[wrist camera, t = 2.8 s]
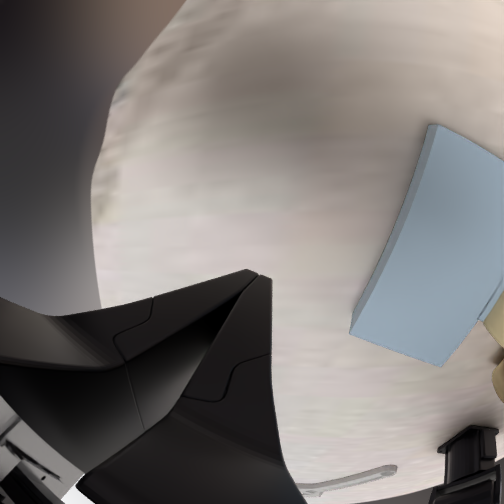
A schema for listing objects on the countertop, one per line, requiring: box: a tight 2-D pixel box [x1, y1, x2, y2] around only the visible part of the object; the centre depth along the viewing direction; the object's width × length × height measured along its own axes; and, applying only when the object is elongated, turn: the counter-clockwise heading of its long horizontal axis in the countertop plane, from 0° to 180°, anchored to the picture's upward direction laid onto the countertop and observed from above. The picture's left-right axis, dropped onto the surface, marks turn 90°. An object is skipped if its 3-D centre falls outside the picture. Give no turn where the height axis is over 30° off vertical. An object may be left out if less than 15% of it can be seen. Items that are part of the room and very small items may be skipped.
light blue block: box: [349, 124, 504, 367], centre depth 12 cm, size 14×13×5 cm
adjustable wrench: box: [295, 465, 397, 497], centre depth 32 cm, size 25×6×2 cm, turn 145°
